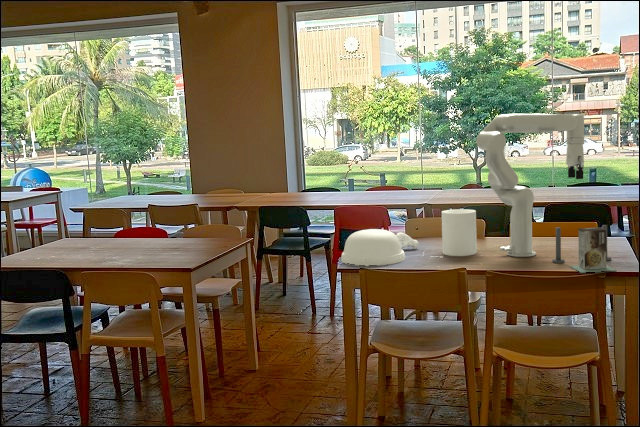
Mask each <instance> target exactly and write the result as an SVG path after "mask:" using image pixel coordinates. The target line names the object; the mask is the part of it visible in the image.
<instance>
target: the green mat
mask: <svg viewBox="0 0 640 427" xmlns="http://www.w3.org/2000/svg"><path fill="white" fill-rule="evenodd" d="M569 268H571V269H573V270H574V269H575V270H574V271H576V270H577V271H576V272H578V271H579V272H578V273H580V274H587V273H586V272H595V273H602V272H601V271H615V272H617V269H615V268H613V267H611V266H608V265H606V269H590V270H584V269H582V268H580V267H579V265H569Z"/></svg>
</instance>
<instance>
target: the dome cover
mask: <svg viewBox="0 0 640 427" xmlns="http://www.w3.org/2000/svg"><path fill="white" fill-rule="evenodd" d="M401 247H402V245H401V244H400V241H399V239H398V237H397V236H396V234H395V233H394V232H391V231H390V230H387V229H379V228H369V229H362V230H358V231H355V232H353V233H351V234H350V235H349V236H348V237H347V239H345V243H344V249H343V252H342V253H341V257H340V260H341V262H342V263H343V264H346V265H348V264H347V263H350V264H355V265H354V266H359V265H365V267H369V265H377V266H384V265H385V266H387V264H388V265H393V264H398V263H401V262H403V261H405V260H406V255H405V251H404V249H403V248H402V249H401ZM350 264H349V265H350Z"/></svg>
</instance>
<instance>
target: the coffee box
mask: <svg viewBox="0 0 640 427" xmlns="http://www.w3.org/2000/svg"><path fill="white" fill-rule="evenodd" d="M577 231H578V266H579V267H580V268H582V269H584V270H590V269H606V266H607V261H606V229H603V228H602V226H601V227H600V226H599V227H598V226H597V227H585V228H577Z"/></svg>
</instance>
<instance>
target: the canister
mask: <svg viewBox="0 0 640 427" xmlns="http://www.w3.org/2000/svg"><path fill="white" fill-rule="evenodd" d="M441 240H442V241H441V244H442V255H445V256H450V257H466V256H467V257H469V256H474V255H476V254H477V253H478V252H477V251H478V250H477V249H478V245H477V242H478V239H477V210H475V209H469V208H468V209H466V208H465V209H464V208H462V209H461V208H460V209H459V208H458V209H455V208H454V209H446V210H442V211H441Z"/></svg>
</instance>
